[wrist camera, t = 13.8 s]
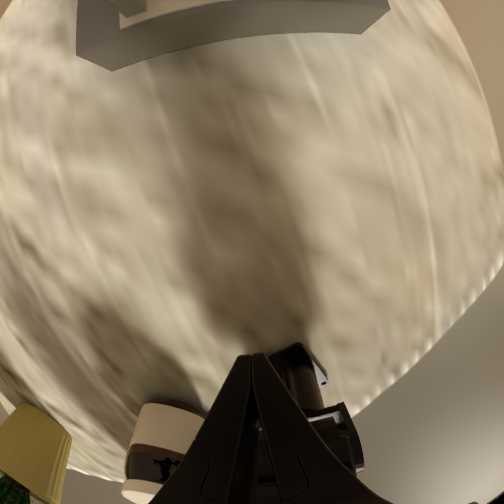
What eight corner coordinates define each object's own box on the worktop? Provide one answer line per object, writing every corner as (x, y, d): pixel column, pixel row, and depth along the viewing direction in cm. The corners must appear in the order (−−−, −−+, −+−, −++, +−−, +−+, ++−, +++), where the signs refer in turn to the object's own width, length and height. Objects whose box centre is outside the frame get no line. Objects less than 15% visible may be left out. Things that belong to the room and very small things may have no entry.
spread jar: (145, 382, 25) (113, 477, 14) (249, 410, 27) (251, 506, 16) (138, 433, 29) (118, 504, 18) (220, 454, 31) (216, 526, 20)
